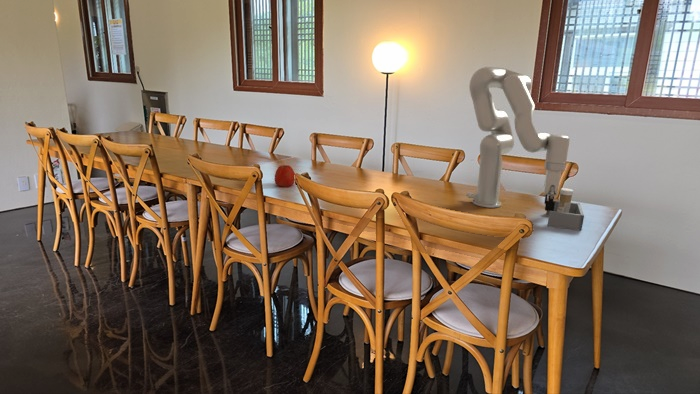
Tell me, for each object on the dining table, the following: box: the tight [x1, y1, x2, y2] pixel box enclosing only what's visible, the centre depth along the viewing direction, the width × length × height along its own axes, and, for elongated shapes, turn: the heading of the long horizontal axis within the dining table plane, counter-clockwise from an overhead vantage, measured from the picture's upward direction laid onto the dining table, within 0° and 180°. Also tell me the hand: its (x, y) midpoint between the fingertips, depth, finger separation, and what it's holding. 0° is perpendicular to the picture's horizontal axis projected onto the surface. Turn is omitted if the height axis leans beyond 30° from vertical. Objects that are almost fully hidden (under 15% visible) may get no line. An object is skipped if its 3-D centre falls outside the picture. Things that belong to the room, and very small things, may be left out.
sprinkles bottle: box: [557, 187, 574, 213], centre depth 178 cm, size 5×5×13 cm
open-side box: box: [545, 200, 585, 231], centre depth 179 cm, size 12×18×6 cm, turn 158°
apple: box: [274, 164, 296, 188], centre depth 220 cm, size 10×10×10 cm
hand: (548, 207), depth 181 cm, fingers open, 9 cm apart
